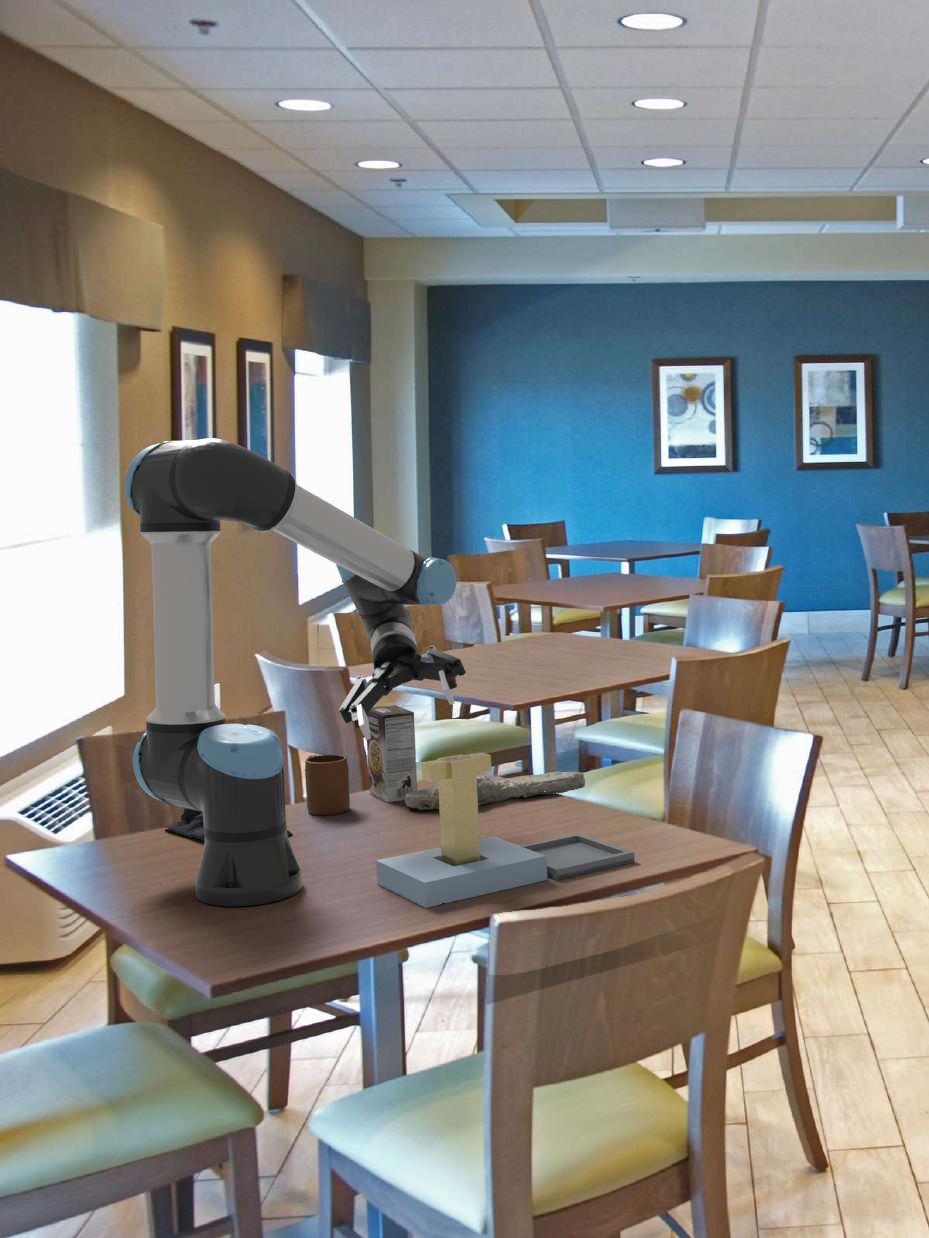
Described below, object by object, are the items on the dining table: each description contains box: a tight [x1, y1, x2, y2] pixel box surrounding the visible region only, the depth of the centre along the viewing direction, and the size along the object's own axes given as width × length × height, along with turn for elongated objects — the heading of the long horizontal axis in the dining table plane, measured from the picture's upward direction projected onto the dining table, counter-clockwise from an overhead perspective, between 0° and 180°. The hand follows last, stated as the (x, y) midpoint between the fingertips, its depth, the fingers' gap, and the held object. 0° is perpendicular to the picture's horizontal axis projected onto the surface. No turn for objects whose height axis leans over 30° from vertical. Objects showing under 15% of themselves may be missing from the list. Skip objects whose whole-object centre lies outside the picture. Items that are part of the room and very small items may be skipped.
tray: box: [520, 833, 636, 881], centre depth 205 cm, size 14×14×2 cm
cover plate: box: [375, 835, 548, 909], centre depth 197 cm, size 20×14×4 cm
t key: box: [421, 751, 492, 867], centre depth 196 cm, size 10×4×18 cm, turn 121°
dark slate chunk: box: [164, 807, 293, 843], centre depth 231 cm, size 15×22×5 cm
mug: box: [304, 754, 351, 816], centre depth 244 cm, size 12×8×9 cm, turn 28°
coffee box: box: [366, 704, 418, 803], centre depth 251 cm, size 9×6×16 cm
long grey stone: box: [404, 771, 586, 811], centre depth 247 cm, size 35×5×10 cm
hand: (406, 714), depth 204 cm, fingers open, 13 cm apart
